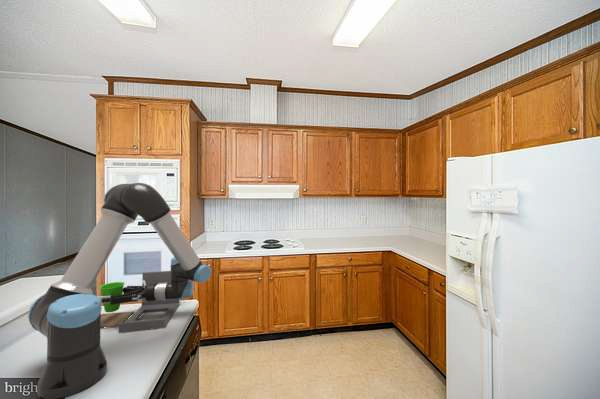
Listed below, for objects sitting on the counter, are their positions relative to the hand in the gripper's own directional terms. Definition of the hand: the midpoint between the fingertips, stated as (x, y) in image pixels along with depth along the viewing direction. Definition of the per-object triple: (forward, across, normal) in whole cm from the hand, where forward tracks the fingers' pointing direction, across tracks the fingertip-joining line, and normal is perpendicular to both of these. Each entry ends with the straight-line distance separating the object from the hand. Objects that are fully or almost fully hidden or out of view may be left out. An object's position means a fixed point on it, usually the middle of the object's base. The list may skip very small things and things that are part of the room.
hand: (100, 296), depth 109 cm
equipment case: (-21, 0, -11) cm, 24 cm away
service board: (-4, 0, -11) cm, 12 cm away
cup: (-5, 0, -7) cm, 8 cm away
